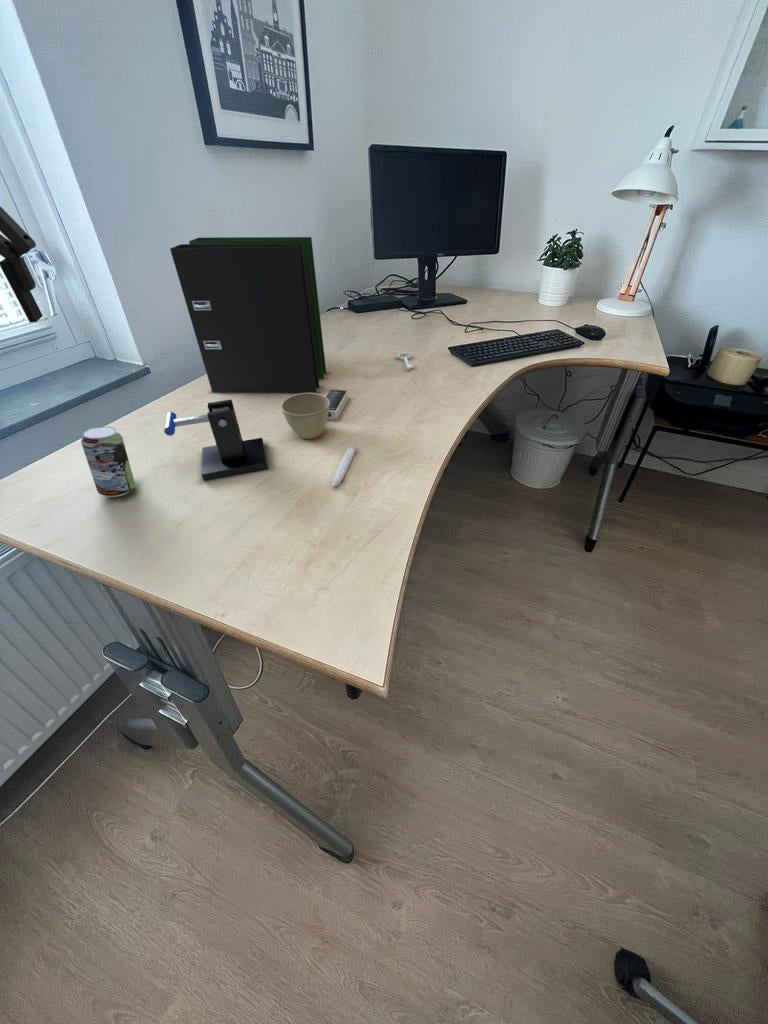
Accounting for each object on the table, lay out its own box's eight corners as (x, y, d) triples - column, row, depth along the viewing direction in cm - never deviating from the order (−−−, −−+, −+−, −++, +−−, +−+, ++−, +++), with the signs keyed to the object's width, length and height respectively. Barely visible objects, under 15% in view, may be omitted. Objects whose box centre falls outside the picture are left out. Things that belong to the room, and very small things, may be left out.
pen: (329, 491, 78) (328, 483, 77) (349, 450, 89) (348, 443, 88) (338, 492, 78) (337, 484, 77) (356, 450, 88) (356, 443, 87)
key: (410, 354, 128) (396, 354, 128) (410, 351, 128) (396, 351, 128) (415, 370, 119) (400, 370, 119) (415, 366, 119) (400, 367, 119)
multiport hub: (348, 399, 107) (348, 390, 105) (337, 420, 98) (336, 411, 97) (331, 398, 107) (330, 389, 106) (318, 419, 99) (317, 409, 98)
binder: (326, 372, 120) (312, 236, 99) (315, 395, 108) (295, 248, 88) (232, 370, 122) (198, 237, 101) (211, 393, 111) (168, 249, 90)
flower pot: (277, 440, 92) (271, 409, 88) (301, 419, 99) (297, 389, 95) (318, 449, 89) (314, 418, 84) (340, 426, 96) (337, 396, 91)
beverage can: (93, 496, 78) (60, 438, 71) (127, 475, 83) (100, 419, 76) (117, 505, 76) (85, 447, 68) (150, 483, 81) (124, 426, 73)
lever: (166, 438, 76) (162, 426, 75) (169, 422, 81) (164, 410, 79) (232, 427, 79) (228, 415, 77) (231, 413, 83) (227, 401, 82)
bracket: (203, 480, 81) (183, 424, 74) (204, 453, 89) (186, 400, 81) (268, 469, 84) (255, 413, 76) (263, 443, 91) (251, 390, 84)
